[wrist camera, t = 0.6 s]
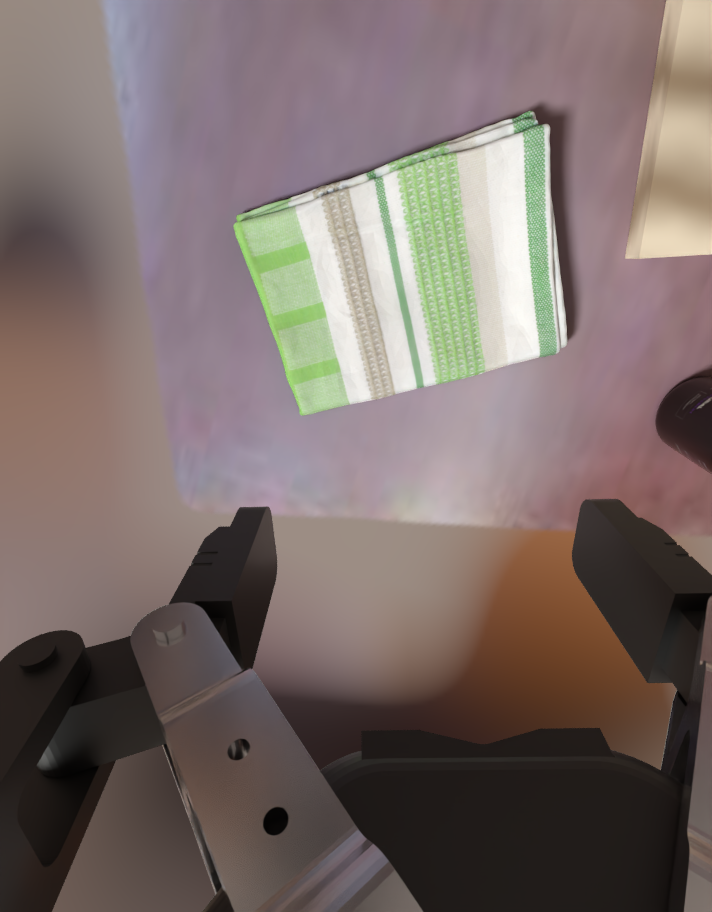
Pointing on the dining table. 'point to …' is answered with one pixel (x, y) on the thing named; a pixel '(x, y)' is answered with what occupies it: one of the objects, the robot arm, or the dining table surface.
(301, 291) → the dish towel
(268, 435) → the dining table surface
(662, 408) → the supplement bottle
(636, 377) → the dining table surface
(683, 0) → the post board
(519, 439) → the dining table surface
